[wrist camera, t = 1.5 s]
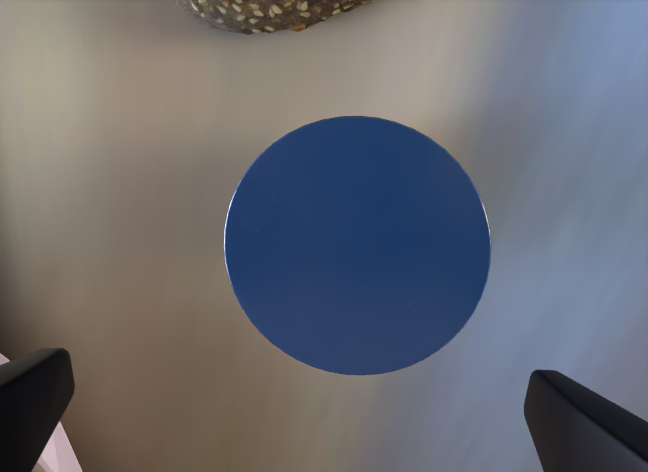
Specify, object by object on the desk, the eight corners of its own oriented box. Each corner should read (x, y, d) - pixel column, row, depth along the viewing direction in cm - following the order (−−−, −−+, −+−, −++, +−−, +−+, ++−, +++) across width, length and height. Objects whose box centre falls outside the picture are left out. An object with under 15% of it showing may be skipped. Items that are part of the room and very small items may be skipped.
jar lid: (499, 142, 12) (529, 142, 10) (444, 353, 14) (457, 402, 12) (269, 103, 13) (239, 94, 11) (242, 309, 15) (210, 345, 12)
